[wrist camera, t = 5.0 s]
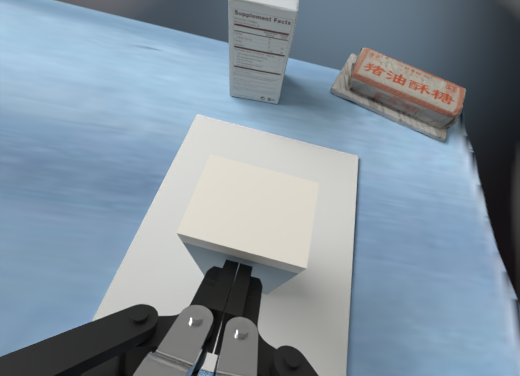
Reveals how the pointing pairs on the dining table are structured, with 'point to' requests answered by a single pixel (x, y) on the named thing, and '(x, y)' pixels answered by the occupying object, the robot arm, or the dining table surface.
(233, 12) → the supplement box
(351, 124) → the dining table surface
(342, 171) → the mat
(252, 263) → the block
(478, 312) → the dining table surface
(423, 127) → the packaged product
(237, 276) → the robot arm
